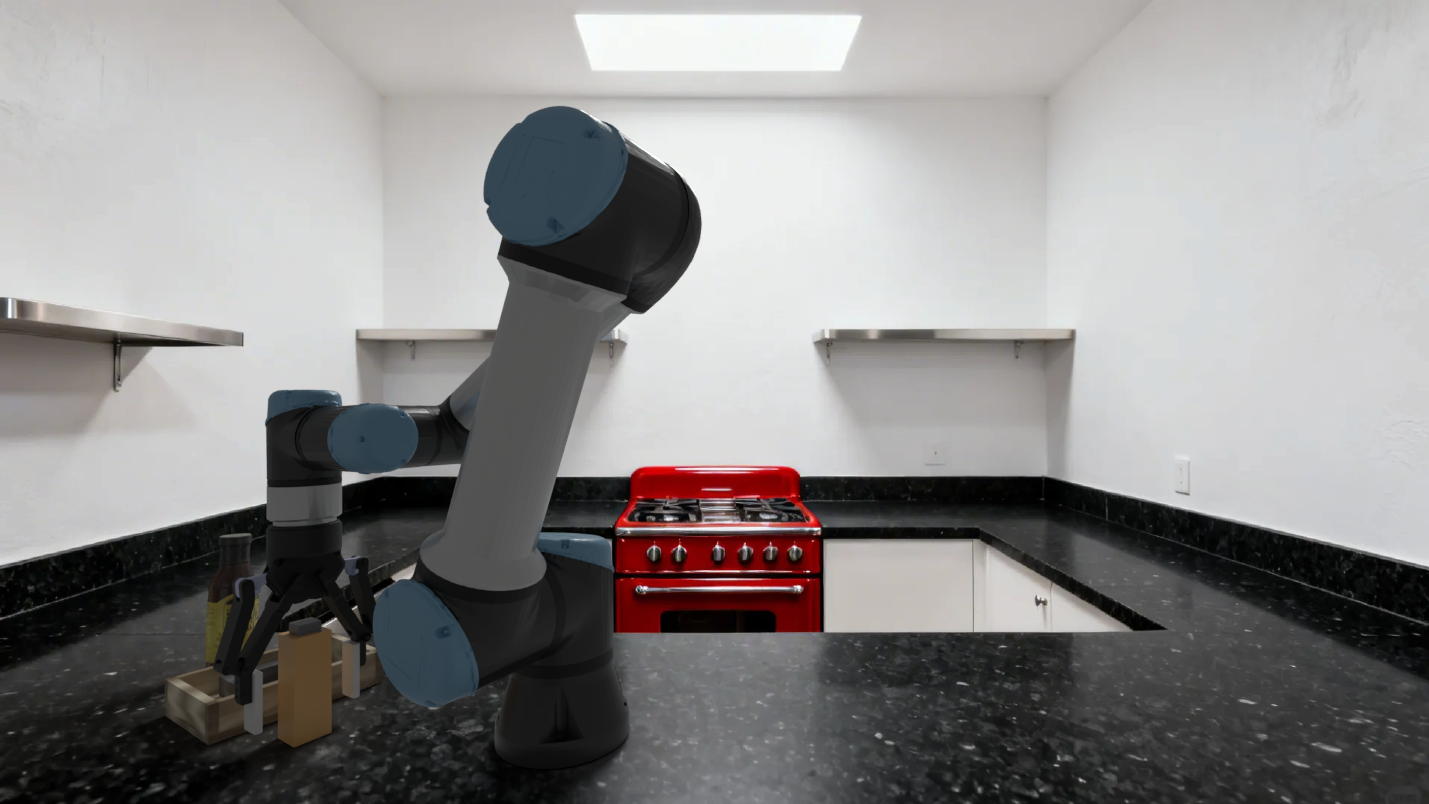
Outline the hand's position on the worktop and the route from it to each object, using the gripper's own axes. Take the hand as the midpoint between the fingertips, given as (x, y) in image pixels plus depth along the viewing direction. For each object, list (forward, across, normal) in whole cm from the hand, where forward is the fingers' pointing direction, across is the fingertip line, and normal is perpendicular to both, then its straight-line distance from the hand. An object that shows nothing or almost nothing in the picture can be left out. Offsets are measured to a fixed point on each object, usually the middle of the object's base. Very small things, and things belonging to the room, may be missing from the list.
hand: (304, 711), depth 74 cm
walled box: (+3, -3, -14) cm, 15 cm away
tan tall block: (+3, 0, 0) cm, 3 cm away
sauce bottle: (+3, -4, -32) cm, 32 cm away
